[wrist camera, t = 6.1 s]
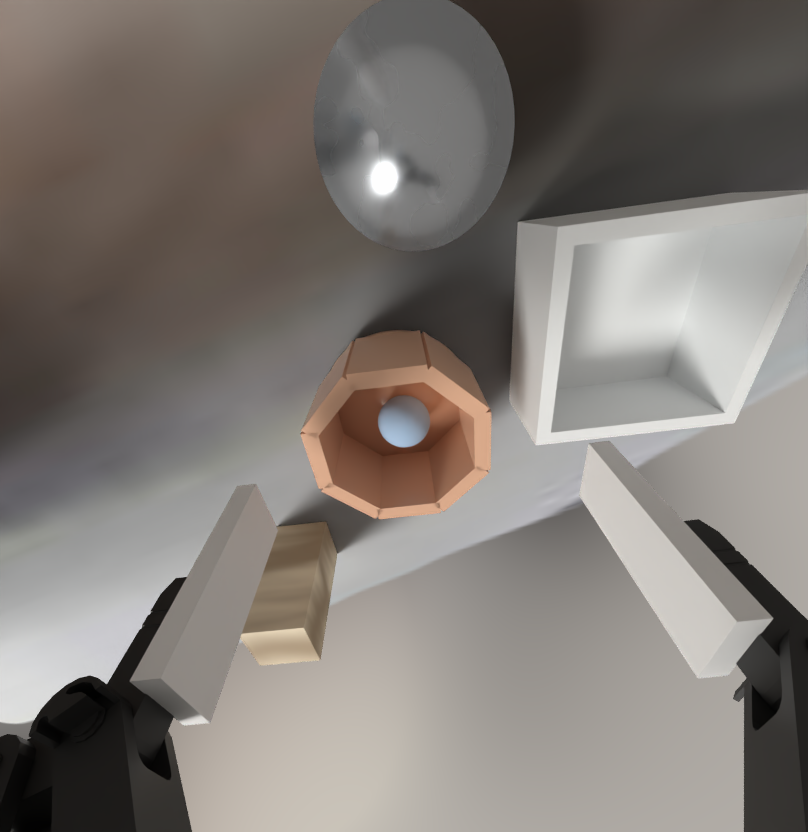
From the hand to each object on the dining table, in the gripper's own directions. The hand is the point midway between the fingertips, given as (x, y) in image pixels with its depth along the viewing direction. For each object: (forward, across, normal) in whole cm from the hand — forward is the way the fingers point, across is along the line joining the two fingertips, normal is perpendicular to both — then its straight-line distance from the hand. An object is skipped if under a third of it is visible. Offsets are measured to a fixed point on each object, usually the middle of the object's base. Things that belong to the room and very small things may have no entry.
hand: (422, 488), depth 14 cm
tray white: (+9, +11, +3) cm, 15 cm away
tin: (+9, +1, +12) cm, 14 cm away
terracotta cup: (+9, -1, 0) cm, 9 cm away
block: (+9, -10, -12) cm, 18 cm away
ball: (+8, -1, 0) cm, 8 cm away
